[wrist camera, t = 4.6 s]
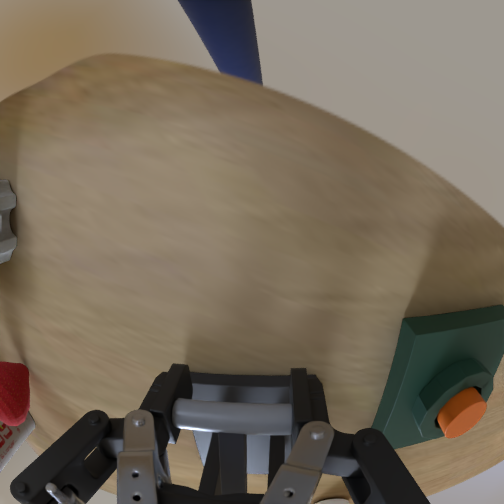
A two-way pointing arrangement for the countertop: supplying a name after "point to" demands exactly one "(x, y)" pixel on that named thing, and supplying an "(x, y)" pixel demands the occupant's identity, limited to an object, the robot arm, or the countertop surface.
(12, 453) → the thermos bottle
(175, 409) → the lever handle
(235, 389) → the lever stand
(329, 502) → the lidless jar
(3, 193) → the egg carton
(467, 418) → the warm button
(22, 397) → the strawberry
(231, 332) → the countertop surface
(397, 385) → the dark green panel
